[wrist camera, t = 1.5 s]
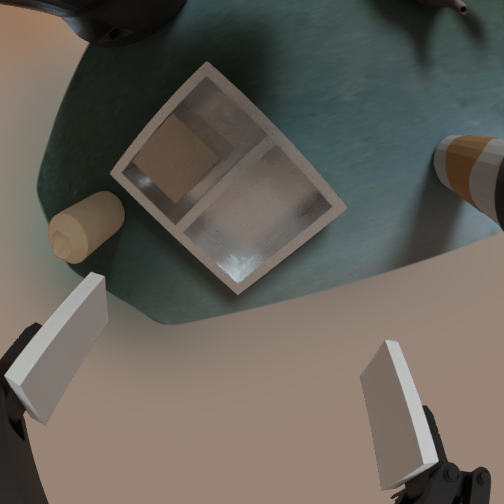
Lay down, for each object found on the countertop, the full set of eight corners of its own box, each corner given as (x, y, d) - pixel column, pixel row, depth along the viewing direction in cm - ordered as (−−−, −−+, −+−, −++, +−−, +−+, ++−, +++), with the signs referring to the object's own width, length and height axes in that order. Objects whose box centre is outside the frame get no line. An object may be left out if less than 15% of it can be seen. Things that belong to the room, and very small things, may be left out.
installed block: (166, 149, 28) (132, 161, 21) (199, 114, 26) (172, 113, 19) (200, 181, 29) (175, 203, 22) (234, 148, 28) (219, 158, 20)
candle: (91, 185, 31) (39, 212, 22) (128, 196, 32) (80, 228, 23) (88, 225, 34) (41, 260, 25) (122, 237, 34) (80, 278, 25)
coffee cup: (452, 208, 29) (530, 267, 15) (411, 163, 27) (497, 203, 14) (486, 160, 26) (571, 196, 12) (449, 111, 24) (543, 123, 11)
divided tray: (125, 158, 30) (103, 166, 25) (210, 64, 25) (198, 54, 20) (248, 277, 35) (244, 301, 30) (342, 201, 30) (354, 216, 26)
